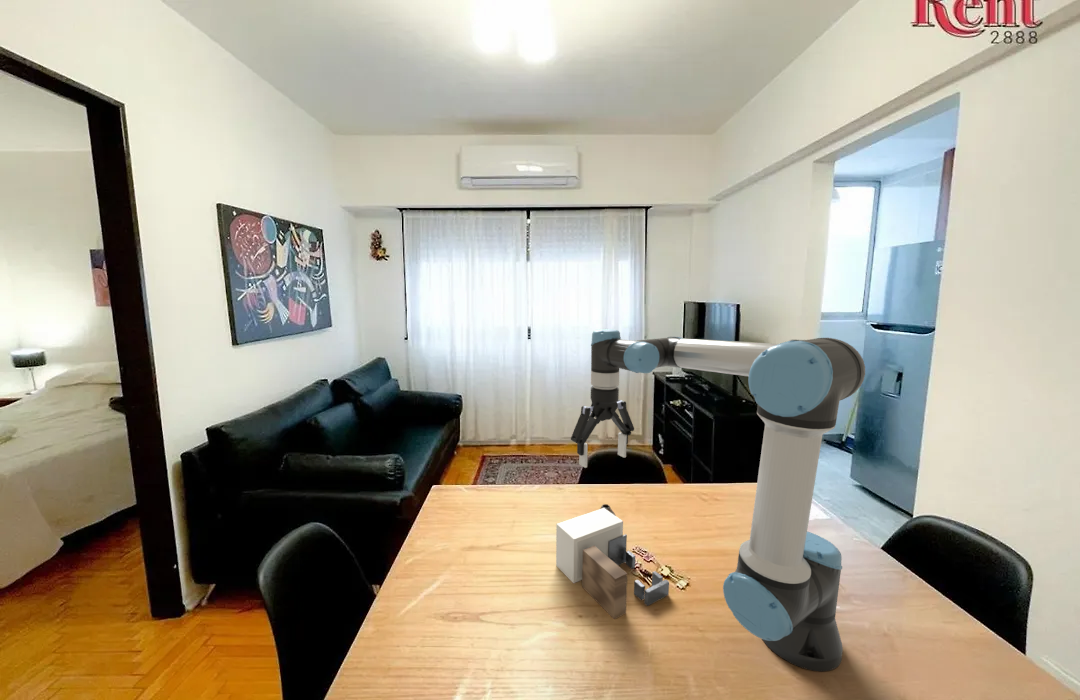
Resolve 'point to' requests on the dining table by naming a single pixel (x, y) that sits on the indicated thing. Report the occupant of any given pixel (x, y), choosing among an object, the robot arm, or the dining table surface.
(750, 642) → the dining table surface
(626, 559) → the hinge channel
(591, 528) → the cabinet
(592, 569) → the door
